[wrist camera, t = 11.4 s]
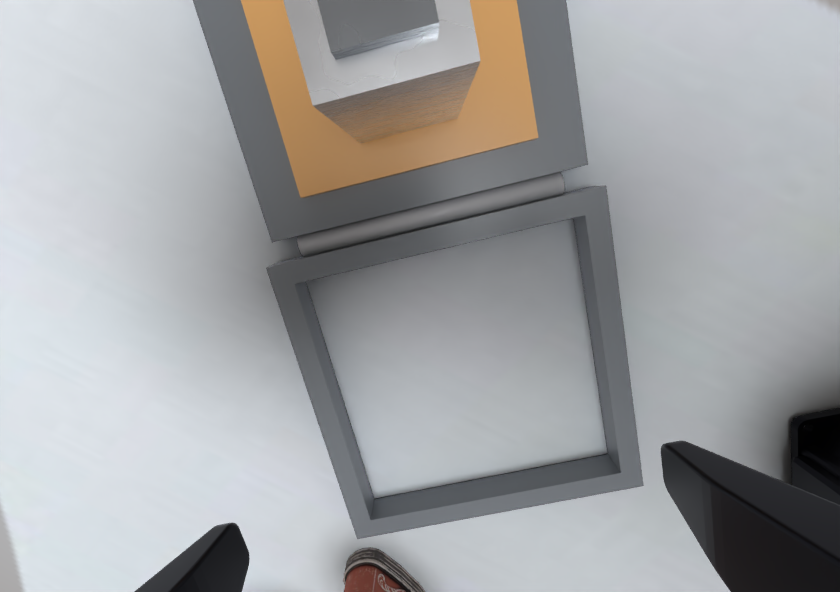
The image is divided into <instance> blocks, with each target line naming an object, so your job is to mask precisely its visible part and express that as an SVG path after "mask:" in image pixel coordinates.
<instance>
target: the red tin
mask: <svg viewBox="0 0 840 592" xmlns="http://www.w3.org/2000/svg"><path fill="white" fill-rule="evenodd" d="M343 581H344V584H345V589H344V592H425V591H424V589H423V588H422V587H421V585H420V584H419V583H418V582H417V581H416V580H415V579H414V578H413V577H412V576H411V575H410V574H409V573H408V572H407V571H406V570H405V569H404V568H403V567H402V566H400V565H399V564H398V563H396V562H395V561H394V560H393V559H391V558H390V557H389V556H387V555H386V554H385V553H384V552H382V551H380V550H378V549H374V548H364V549H361V550H358V551H356V552H354V553H353V554H352V555H351V556H350V557H349V559H348V560H347V564H346V568H345V573H344V579H343Z"/></svg>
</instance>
